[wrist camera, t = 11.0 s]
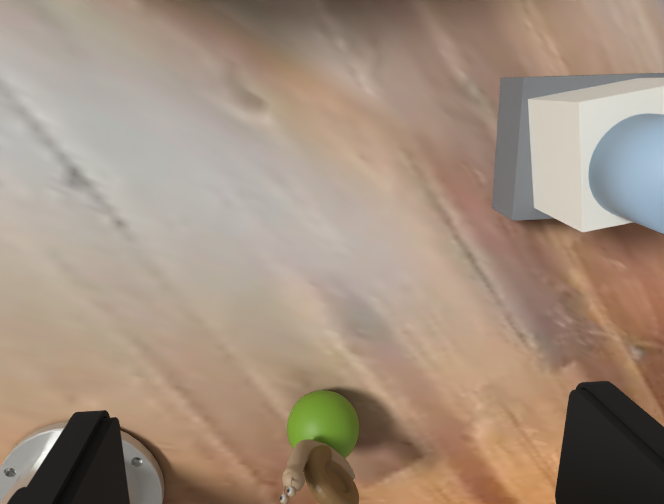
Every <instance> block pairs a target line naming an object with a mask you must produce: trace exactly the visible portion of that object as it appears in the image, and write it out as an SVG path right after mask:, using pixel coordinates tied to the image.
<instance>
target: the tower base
mask: <svg viewBox="0 0 664 504" xmlns="http://www.w3.org/2000/svg"><path fill="white" fill-rule="evenodd" d="M636 78H664V73H643V74H607V75H576V76H545V77H514V78H501V81H500V96H499V111H498V126H497V141H496V156H495V171H494V186H493V201H492V208H493V209H494V210H496V211H497V212H499V213H501V214H502V215H504V216H505V217H507V218H509V219H510V220H512V221H515V220H535V219H554V218H553V217H551V216H549V215H547V214H545V213H543V212H541V211H539V210H537V209H535V208H534V198H533V181H532V164H531V146H530V129H529V111H528V99H531V98H537V97H542V96H547V95H552V94H558V93H563V92H568V91H573V90H578V89H584V88H589V87H594V86H599V85H605V84H610V83H615V82H620V81H626V80H631V79H636Z"/></svg>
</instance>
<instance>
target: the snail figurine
mask: <svg viewBox="0 0 664 504" xmlns="http://www.w3.org/2000/svg"><path fill="white" fill-rule="evenodd" d="M287 433H288V438H289V442H290V444H291V446H292V448H293V450H292V451H291V454H290V456H289V459H288V462H287V468H286V470H285V471H284V473H283V477H282V482H283V485H284V489H283V494H282V495H281V497H280V502H281V503H282V504H287V503H288V501H289V496H290V497H292V496H294V495H295V494H296V491H299V490H300V489H301V488H302V487H303V485H304V482H305V480H306V483H307V485H308V487H309V489H310V490H311V492H312V494H313V495H314V496H315V498H316V499H317V500H318V501H319V502H320V503H321V504H359V493H358V490H357V487H356V485H355V483H354V481H353V479H354V478H355V474H354V472H353V470H352V468H351V466H350V465H349V463H348V462H347V460H346V459H345V458H346V457H347V456H348V455H349V454H350V453H351V452H352V450H353V449H354V447H355V445H356V443H357V440H358V436H359V420H358V416H357V413H356V411H355V409H354V407H353V406H352V404H351V403H350V402H349V401H348V400H347V399H346V398H345V397H343V396H342V395H340V394H338V393H336V392H333V391H328V390H319V391H314V392H311V393H309V394H307V395H305V396H304V397H302V398H301V399H300V400H299V401H298V402H297V403H296V404H295V405H294V407H293V409H292V410H291V413H290V415H289V418H288V424H287ZM303 472H304V474H303ZM304 477H305V478H304ZM285 488H286V489H288V490H287V494H288V495H289V496H288V495H287V494H285Z"/></svg>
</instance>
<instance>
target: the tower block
mask: <svg viewBox="0 0 664 504" xmlns="http://www.w3.org/2000/svg"><path fill="white" fill-rule="evenodd" d="M528 111H529V129H530V146H531V164H532V181H533V198H534V208H535V209H537V210H539V211H541V212H543V213H545V214H547V215H549V216H551V217H553V218H555V219H557V220H559V221H561V222H563V223H565V224H567V225H569V226H571V227H573V228H575V229H577V230H579V231H581V232H587V231H592V230H597V229H602V228H607V227H613V226H618V225H623V224H628V223H633V222H632V221H630V220H627V219H625V218H622V217H620V216H617V215H615V214H612V213H610V212H608V211H606V210H605V209H604V208H602V207H601V206H600V205H599V204H598V202H597V201H596V200H595V198H594V197H593V194H592V192H591V189H590V186H589V179H588V171H589V164H590V160H591V157H592V154H593V152H594V150H595V148H596V146H597V144H598V143H599V141H600V140H601V138H602V137H603V136H604V135H605V134H606V132H608V131H609V130H610V129H611V128H612V127H613V126H614V125H616V124H617V123H619V122H620V121H622V120H624V119H626V118H628V117H631V116H634V115H638V114H647V113H651V114H664V78H636V79H631V80H626V81H620V82H615V83H610V84H605V85H599V86H594V87H589V88H584V89H578V90H573V91H568V92H563V93H558V94H552V95H547V96H542V97H537V98H531V99H528Z"/></svg>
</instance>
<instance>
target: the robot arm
mask: <svg viewBox="0 0 664 504" xmlns="http://www.w3.org/2000/svg"><path fill="white" fill-rule="evenodd" d="M164 489H165V486H164V479H163V474H162V472H161V469H160V467H159V464H158V462H157V461H156V460H155V458H154V457H153V455H152V454H151V452H150V451H149V450H148V449H147V448H146V447H145V446H144V445H143V444H142V443H141V442H139V441H138V440H136V439H135V438H133V437H132V436H130V435H129V434H127V433H125V432H123V431H121V430H120V424H119V420H118V418H116V417H114V418H110V416H109V414H108V412H107V411H106V410H104V411H87V412H76V413H74V414H73V415H72V417H71V418H70V420H69V421H67V422H61V423H56V424H51V425H48V426H46V427H43V428H40V429H38V430H36V431H34V432H32V433H31V434H29V435H27V436H26V437H24V438H23V439H22V440H21V441H20V442H19V443H18V444H17V445H16V446H15V447H14V448H13V449H12V451H11V452H10V453H9V455H8V456H7V457H6V459H5V460H4V462H3V464H2V466H1V467H0V504H162V503H163V500H164ZM555 498H556V504H664V427H663V426H662V425H661V424H660V423H658V422H657V421H656V420H655V419H654V418H652V417H651V416H650V415H649V414H648V413H647V412H645V411H644V410H643V409H642V408H641V407H639V406H638V405H637V404H636V403H635V402H633V401H632V400H631V399H630V398H629V397H628V396H626V395H625V394H624V393H623V392H622V391H620V390H619V389H618V388H617V387H616V386H614V385H613V384H612V383H610V382H609V381H599V382H582V383H580V384H578V386H577V387H576V390H573V391H571V393H570V395H569V400H568V408H567V415H566V422H565V429H564V436H563V443H562V450H561V457H560V464H559V471H558V478H557V485H556V492H555Z"/></svg>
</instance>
